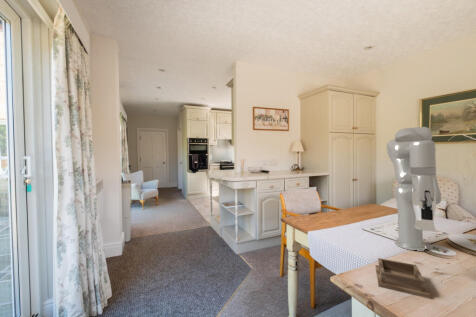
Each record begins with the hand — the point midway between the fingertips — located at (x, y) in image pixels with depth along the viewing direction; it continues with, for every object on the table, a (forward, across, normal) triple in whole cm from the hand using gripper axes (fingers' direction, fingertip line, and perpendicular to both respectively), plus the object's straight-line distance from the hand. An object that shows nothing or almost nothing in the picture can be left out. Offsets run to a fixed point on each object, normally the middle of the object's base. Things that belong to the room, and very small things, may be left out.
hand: (424, 216), depth 80 cm
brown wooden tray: (+22, +11, -10) cm, 27 cm away
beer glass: (+5, 0, 0) cm, 5 cm away
